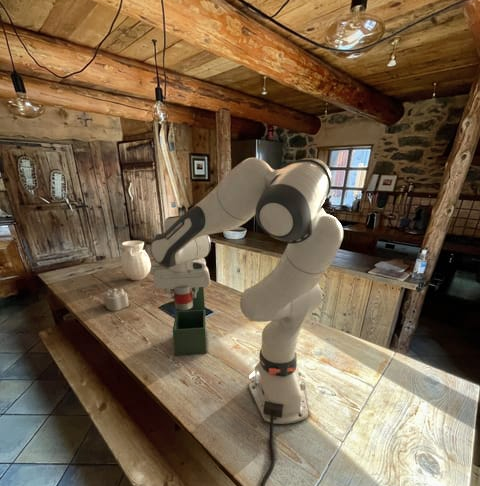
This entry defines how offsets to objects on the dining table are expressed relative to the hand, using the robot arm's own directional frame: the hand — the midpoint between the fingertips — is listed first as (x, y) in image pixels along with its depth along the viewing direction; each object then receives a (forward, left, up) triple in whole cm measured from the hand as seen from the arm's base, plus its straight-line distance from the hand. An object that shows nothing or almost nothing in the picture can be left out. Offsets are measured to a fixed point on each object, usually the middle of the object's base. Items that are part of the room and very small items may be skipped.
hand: (183, 297), depth 99 cm
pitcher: (+89, +39, -26) cm, 101 cm away
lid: (+12, -1, -5) cm, 13 cm away
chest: (+7, -1, -25) cm, 26 cm away
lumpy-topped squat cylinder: (+48, +42, -25) cm, 69 cm away
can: (0, 0, -4) cm, 4 cm away
